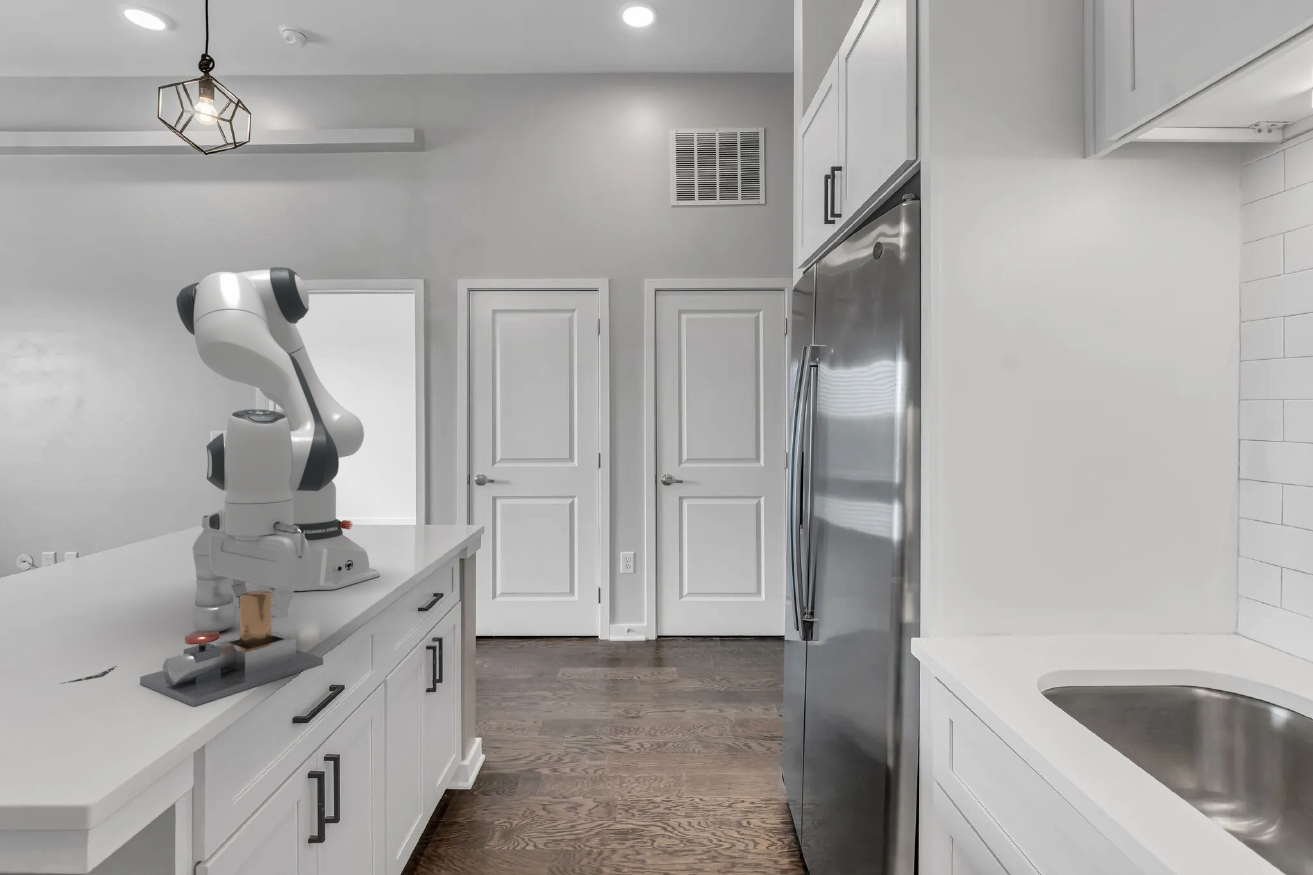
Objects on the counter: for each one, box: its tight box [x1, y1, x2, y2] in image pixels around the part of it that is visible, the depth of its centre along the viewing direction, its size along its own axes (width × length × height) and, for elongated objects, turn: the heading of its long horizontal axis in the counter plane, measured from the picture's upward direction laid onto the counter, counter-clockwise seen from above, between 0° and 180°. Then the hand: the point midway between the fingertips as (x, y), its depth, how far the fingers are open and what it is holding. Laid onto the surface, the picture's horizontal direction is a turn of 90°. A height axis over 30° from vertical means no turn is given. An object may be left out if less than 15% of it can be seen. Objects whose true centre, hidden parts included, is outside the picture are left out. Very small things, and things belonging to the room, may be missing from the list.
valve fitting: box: [139, 631, 324, 707], centre depth 99 cm, size 18×14×7 cm
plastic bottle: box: [191, 514, 237, 633], centre depth 118 cm, size 6×7×20 cm
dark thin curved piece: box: [59, 665, 118, 685], centre depth 98 cm, size 13×1×5 cm
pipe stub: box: [239, 590, 273, 649], centre depth 102 cm, size 4×4×10 cm
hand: (260, 612), depth 102 cm, fingers open, 8 cm apart
